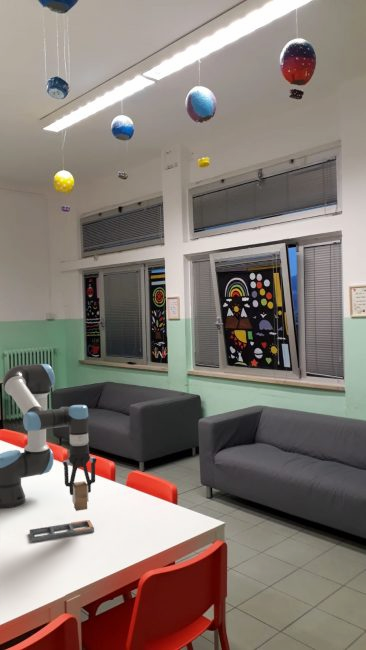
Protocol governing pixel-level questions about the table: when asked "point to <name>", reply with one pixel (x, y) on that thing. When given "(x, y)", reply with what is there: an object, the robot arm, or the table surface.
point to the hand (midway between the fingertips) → (80, 501)
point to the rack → (60, 527)
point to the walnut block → (80, 496)
